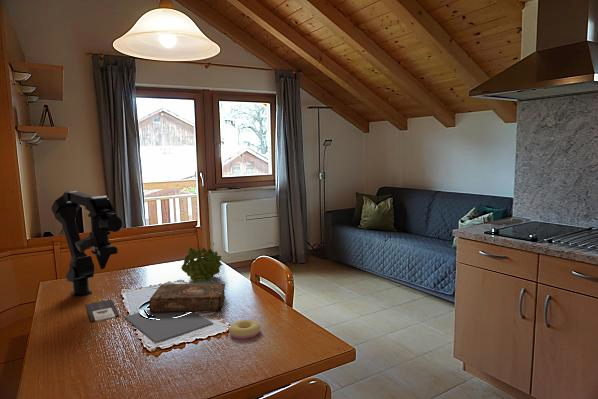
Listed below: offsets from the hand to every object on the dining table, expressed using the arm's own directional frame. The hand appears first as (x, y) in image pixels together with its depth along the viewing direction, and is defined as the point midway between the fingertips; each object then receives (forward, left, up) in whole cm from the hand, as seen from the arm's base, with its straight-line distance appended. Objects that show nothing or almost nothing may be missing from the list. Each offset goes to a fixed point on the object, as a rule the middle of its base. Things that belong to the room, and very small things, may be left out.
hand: (102, 269), depth 158 cm
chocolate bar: (+9, -4, -14) cm, 17 cm away
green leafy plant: (+3, +41, -13) cm, 43 cm away
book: (+19, +12, -10) cm, 24 cm away
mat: (+34, +10, -13) cm, 38 cm away
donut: (+60, +24, -14) cm, 66 cm away
